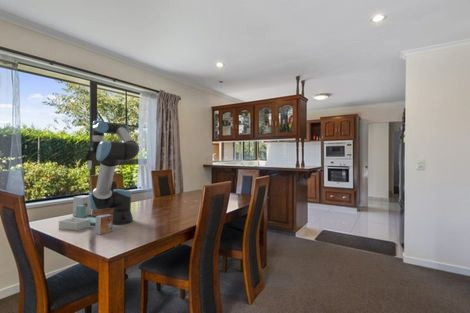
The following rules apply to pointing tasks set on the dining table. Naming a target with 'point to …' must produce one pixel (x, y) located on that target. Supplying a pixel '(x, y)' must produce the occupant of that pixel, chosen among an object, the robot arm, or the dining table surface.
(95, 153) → the robot arm
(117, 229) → the dining table surface
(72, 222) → the tub
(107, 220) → the small box
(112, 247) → the dining table surface
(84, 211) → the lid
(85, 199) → the supplement box
